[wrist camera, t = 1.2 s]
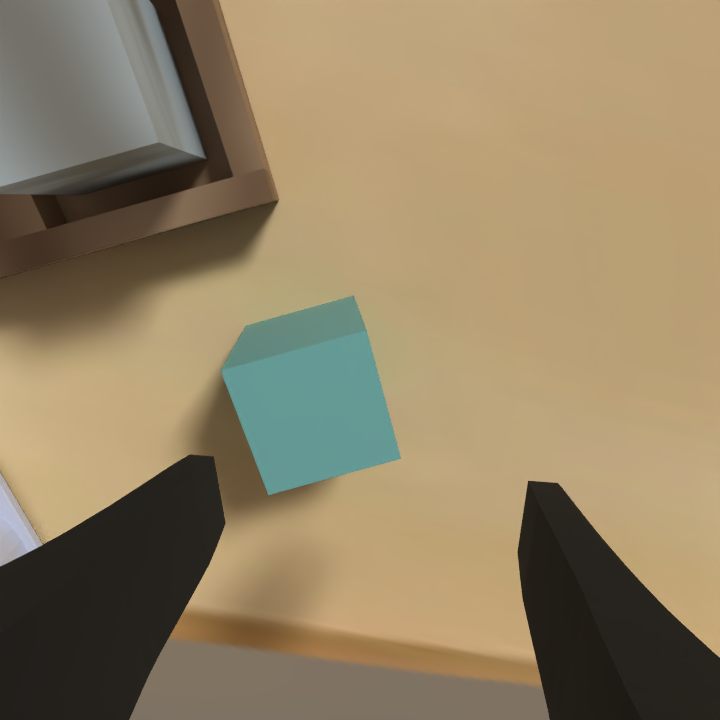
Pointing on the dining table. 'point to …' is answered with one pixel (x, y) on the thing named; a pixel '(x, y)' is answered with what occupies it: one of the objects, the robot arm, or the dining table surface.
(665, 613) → the robot arm
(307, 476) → the teal block
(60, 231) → the puzzle board
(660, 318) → the dining table surface
